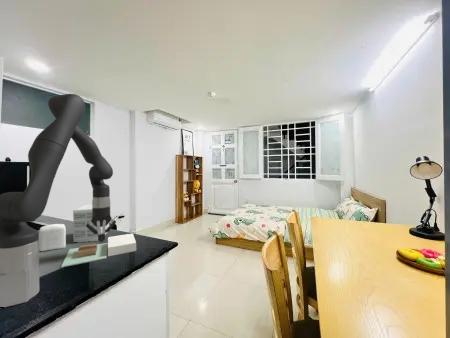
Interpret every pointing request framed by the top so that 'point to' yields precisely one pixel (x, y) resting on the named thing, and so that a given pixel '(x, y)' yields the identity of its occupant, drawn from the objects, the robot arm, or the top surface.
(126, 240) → the white flat block
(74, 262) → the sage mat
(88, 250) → the walnut tile
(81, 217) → the supplement box
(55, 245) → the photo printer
